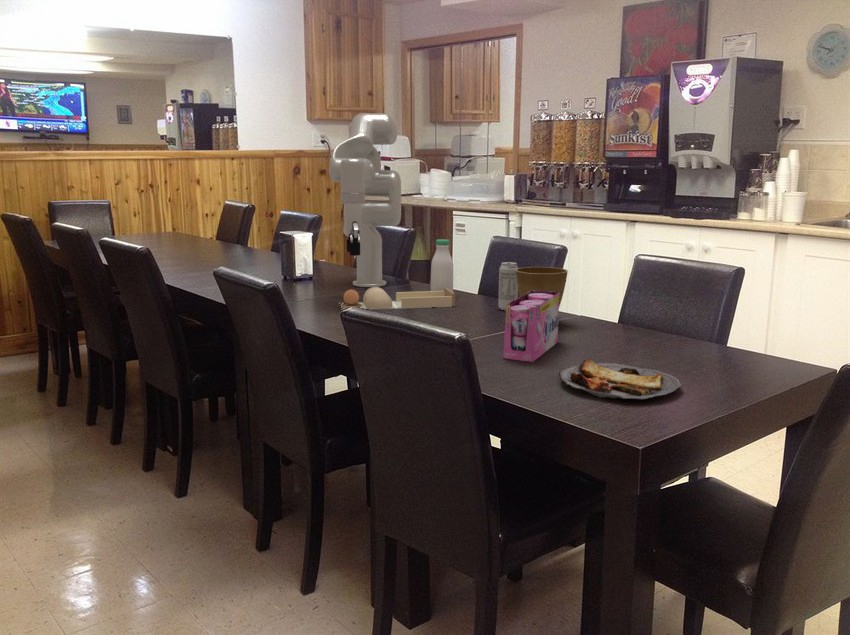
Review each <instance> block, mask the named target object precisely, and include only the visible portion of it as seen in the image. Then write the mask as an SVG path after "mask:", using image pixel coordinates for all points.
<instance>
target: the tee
mask: <svg viewBox="0 0 850 635" xmlns="http://www.w3.org/2000/svg"><path fill="white" fill-rule="evenodd" d="M358 302H359V301H358ZM358 302H357V303H356V304H354V305H349V304H347V303H346V302H345V301H344V300H343V303H344V304H341V307H345V308H347V307H361V306H362V304H359V303H358ZM341 307H340V308H341Z"/></svg>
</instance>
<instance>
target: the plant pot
mask: <svg viewBox="0 0 850 635" xmlns="http://www.w3.org/2000/svg"><path fill="white" fill-rule="evenodd" d="M516 277H517V284H518V296H519V297H521V296H523V295H524V294H526V293H528V292H529V291H532V290H536V291H549V292H560V294H559V307H561V302H562V300H563V296H564V291H565V288H566V283H567V279H568V278H567V277H568V269H565V268H560V267H551V266H549V267H548V266H525V267H518V269H516Z"/></svg>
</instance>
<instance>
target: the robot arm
mask: <svg viewBox="0 0 850 635" xmlns="http://www.w3.org/2000/svg"><path fill="white" fill-rule="evenodd" d="M348 134H349V135H348V138H347V139H344V140H343V141H342V142H341V143H339V144H338V145H337V146H335V147H334V149H333V150H332V151H331V154H330V158H329V165H328V173H329V177H330V178H331V180H332V181H333V182H336V183H337V182H338V183H340V204H341V205H343V225H342V226H343V229H342V231H343V232H342V233H343V234H344V235H345V236H346V252H347V253H349V255H350V256H356V280H353V281H352V285H353V286H354V287H359V288H372V287H379V288H381V287H385V286H386V285H387V281H386V280H383V238H382V235H381V233H380V232H379V231H378V230H377V229H376V227H396V226H398V225H400V223H401V219H402V179H401V175H400V174H399V172H398V171H396V170H392V169H390V170H389V169H382V168H381V167H382V165H381V164H382V163H381V161H382V159H381V154H380V153H379V151H378V149H377V148H376V147H375V145H385V146H387V145H390V146H391V145H393V144H395V143H396V141H397V139H398V127H397V124H396V122H395V119H394V118H393V117H392V116H391V115H390V114H388V113H384V112H383V113H382V112H381V113H379V112H378V113H375V112H374V113H371V112H370V113H369V112H367V113H366V112H365V113H359V114H356V115H355V116H354V117H353V118H352V120H351V122H350V123H349V125H348ZM366 197H387V198H388V199H387V200H386V199H366Z"/></svg>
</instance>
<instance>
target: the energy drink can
mask: <svg viewBox="0 0 850 635" xmlns="http://www.w3.org/2000/svg"><path fill="white" fill-rule="evenodd" d="M517 264H518V263H517V262H515V261H514V262H512V261H505V262H501V264H500V266H499V270H498V272H499V274H498V277H499V278H498V306H497V307H498V308H499V310H500V309H501V310H506V305H507V304H508V303H509V302H511V301H513V300H515V299H517V298H519V297H518V296H519V291H518V284H517V277H516V269H518V268H519V266H518V265H517ZM501 310H500V311H501Z"/></svg>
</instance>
